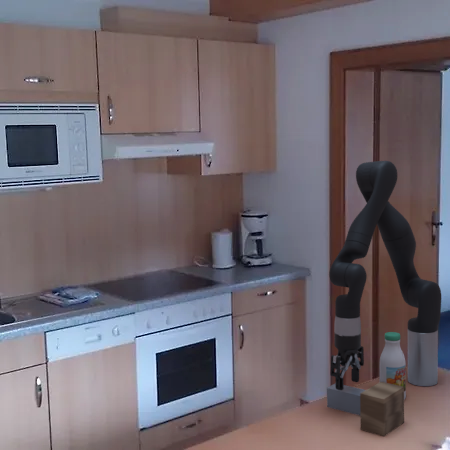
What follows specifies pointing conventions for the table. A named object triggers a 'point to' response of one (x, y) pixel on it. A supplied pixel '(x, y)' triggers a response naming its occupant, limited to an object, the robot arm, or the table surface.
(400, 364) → the milk bottle
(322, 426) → the table surface
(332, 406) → the pale blue brick
